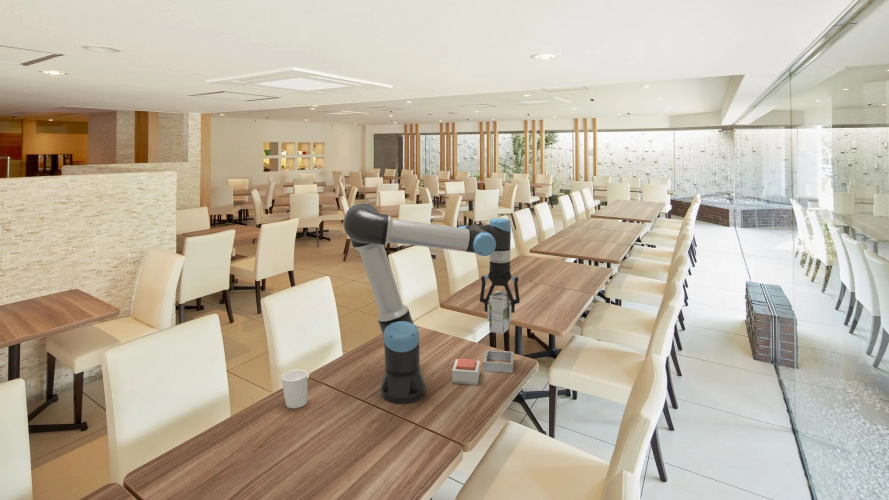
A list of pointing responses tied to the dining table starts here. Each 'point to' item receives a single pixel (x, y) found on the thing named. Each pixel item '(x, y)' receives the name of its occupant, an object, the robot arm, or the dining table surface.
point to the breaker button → (466, 364)
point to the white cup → (295, 388)
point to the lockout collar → (498, 365)
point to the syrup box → (499, 312)
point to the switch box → (466, 375)
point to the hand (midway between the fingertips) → (499, 320)
